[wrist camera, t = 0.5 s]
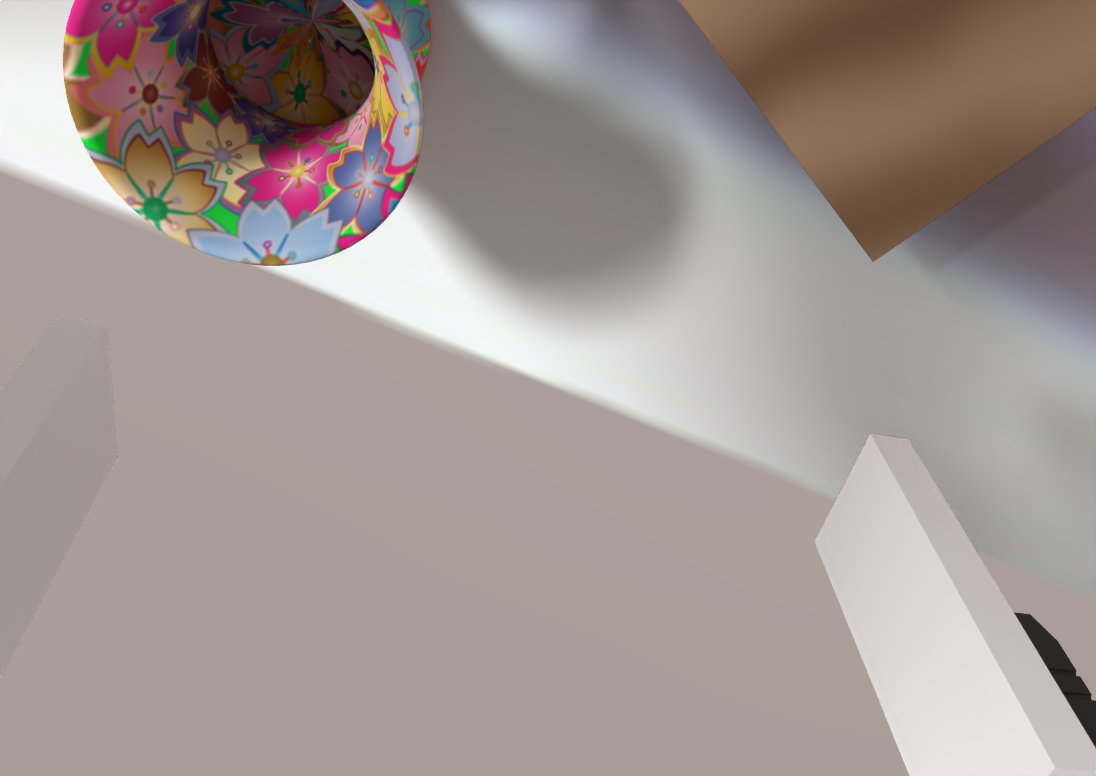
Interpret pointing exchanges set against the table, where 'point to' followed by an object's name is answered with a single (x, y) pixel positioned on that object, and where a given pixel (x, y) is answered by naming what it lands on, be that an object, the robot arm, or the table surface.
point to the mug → (252, 116)
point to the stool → (907, 93)
